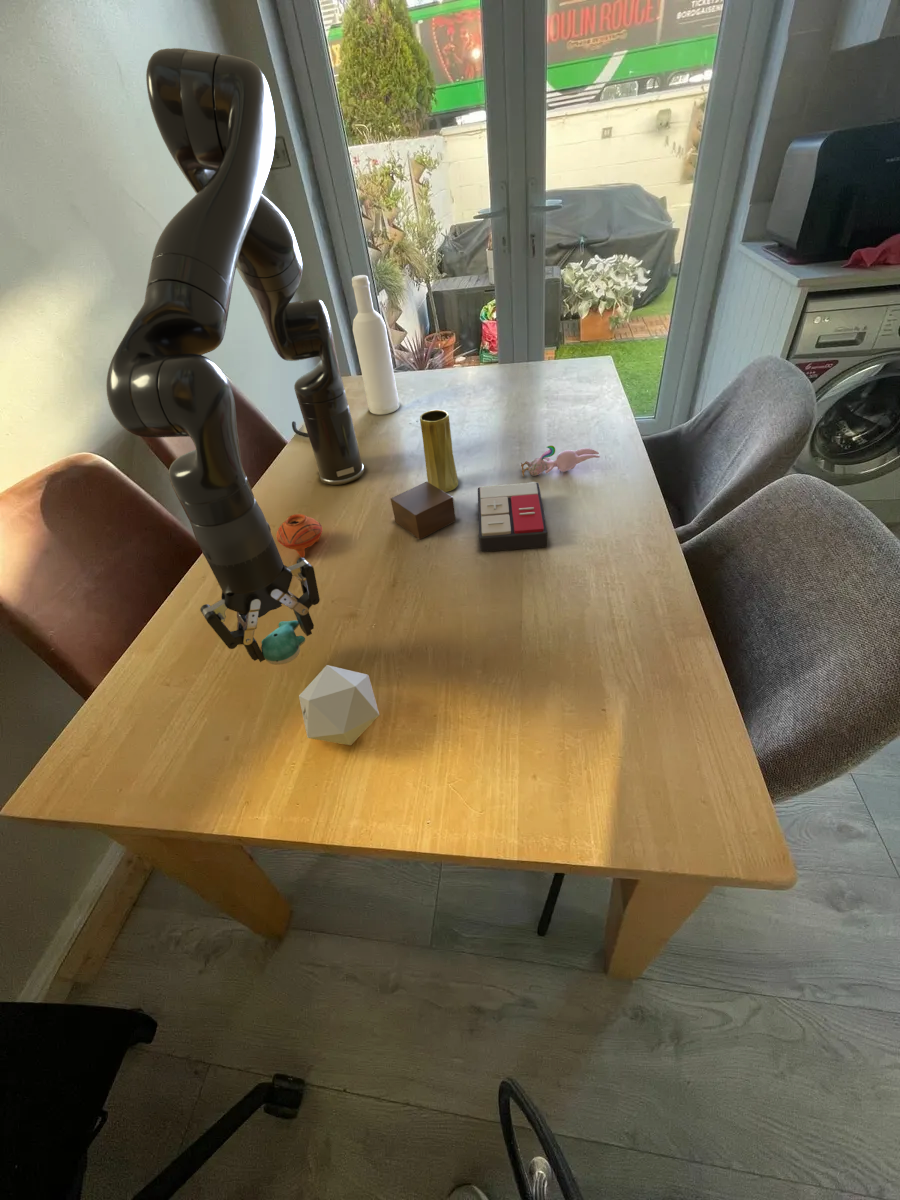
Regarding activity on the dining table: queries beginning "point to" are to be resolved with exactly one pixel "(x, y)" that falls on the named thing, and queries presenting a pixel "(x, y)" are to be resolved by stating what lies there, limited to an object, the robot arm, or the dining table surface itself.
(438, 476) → the vase
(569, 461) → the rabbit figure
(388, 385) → the bottle
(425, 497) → the walnut block
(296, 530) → the pot
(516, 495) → the calculator
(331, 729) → the die
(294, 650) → the whale figurine
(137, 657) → the dining table surface
